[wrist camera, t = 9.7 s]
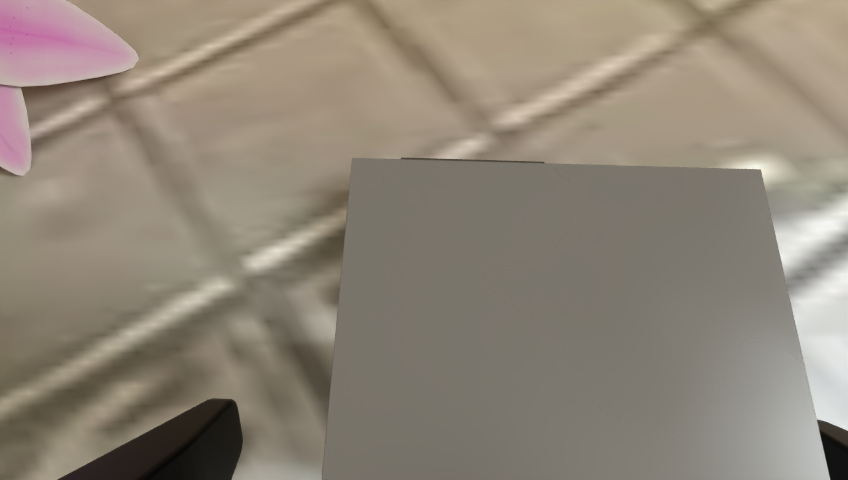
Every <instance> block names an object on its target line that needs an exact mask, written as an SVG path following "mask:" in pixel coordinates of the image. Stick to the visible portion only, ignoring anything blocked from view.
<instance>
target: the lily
mask: <svg viewBox="0 0 848 480" xmlns="http://www.w3.org/2000/svg"><path fill="white" fill-rule="evenodd" d="M138 59H139V57H138V55H137V53H136V51H135V50H134V49H133V48H131V47H130V46H129V45H128V44H127V43H126V42H125V41H124V40H123V39H122V38H120V37H119V36H118V35H116V34H115V33H114V32H112V31H111V30H110V29H108V28H107V27H106V26H104V25H103V24H102V23H100V22H99V21H97V20H96V19H94V18H93V17H91V16H90V15H88V14H87V13H85V12H84V11H82V10H81V9H79V8H78V7H76V6H75V5H73V4H72V3H70V2H68V1H67V0H0V167H2V168H4V169H6V170H8V171H10V172H12V173H13V174H15V175H21V176H24V174H25V173H26V172H27V171H28V170H29V169H31V141H30V130H29V123H28V117H27V110H26V106H25V102H24V98H23V94H22V90H21V88H20V87H23V86H43V85H52V84H59V83H66V82H72V81H78V80H84V79H90V78H96V77H102V76H106V75H111V74H115V73H120V72H123V71H126V70H128V69H131V68H133V66H134V65H135V64H136V62H137V61H138Z"/></svg>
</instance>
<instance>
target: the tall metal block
mask: <svg viewBox="0 0 848 480" xmlns="http://www.w3.org/2000/svg"><path fill="white" fill-rule="evenodd" d="M322 480H830V476H829V472H828V468H827V463H826V459H825V454H824V450H823V445H822V441H821V436H820V432H819V427H818V423H817V419H816V414H815V410H814V405H813V401H812V396H811V392H810V387H809V383H808V378H807V374H806V369H805V365H804V361H803V356H802V352H801V347H800V343H799V338H798V334H797V329H796V325H795V320H794V316H793V312H792V307H791V303H790V298H789V294H788V289H787V285H786V280H785V276H784V271H783V267H782V262H781V258H780V254H779V249H778V245H777V240H776V236H775V231H774V227H773V222H772V218H771V213H770V209H769V205H768V200H767V196H766V191H765V187H764V182H763V178H762V173H761V170H757V169H721V168H686V167H651V166H616V165H581V164H546V163H511V162H475V161H440V160H405V159H370V158H352V165H351V176H350V186H349V197H348V207H347V218H346V228H345V239H344V250H343V260H342V271H341V281H340V292H339V302H338V313H337V323H336V334H335V345H334V355H333V366H332V376H331V387H330V397H329V408H328V418H327V429H326V440H325V450H324V461H323V471H322Z"/></svg>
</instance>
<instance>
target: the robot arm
mask: <svg viewBox="0 0 848 480" xmlns="http://www.w3.org/2000/svg"><path fill="white" fill-rule="evenodd" d="M817 423H818V427H819V432H820V436H821V441H822V445H823V450H824V454H825V459H826V463H827V468H828V472H829V476H830V480H848V431H847V430H844V429H842V428H840V427H837V426H835V425H832V424H830V423H828V422H825V421H821V420H817ZM242 443H243V437H242V430H241V424H240V418H239V413H238V407H237V404H236V402H235V401H234V400H232V399H209V400H207V401H205V402H203V403H201V404H199V405H197V406H195V407H193V408H192V409H190V410H188V411H186V412H184V413H182V414H180V415H178V416H177V417H175V418H173V419H171V420H169V421H167V422H165V423H163V424H161V425H160V426H158V427H156V428H154V429H152V430H150V431H148V432H146V433H145V434H143V435H141V436H139V437H137V438H135V439H133V440H131V441H129V442H128V443H126V444H124V445H122V446H120V447H118V448H116V449H114V450H112V451H111V452H109V453H107V454H105V455H103V456H101V457H99V458H97V459H96V460H94V461H92V462H90V463H88V464H86V465H84V466H82V467H80V468H79V469H77V470H75V471H73V472H71V473H69V474H67V475H65V476H64V477H62V478H60V479H58V480H231V479H232V476H233V474H234V471H235V468H236V465H237V462H238V460H239V457H240V454H241V450H242Z"/></svg>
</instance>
